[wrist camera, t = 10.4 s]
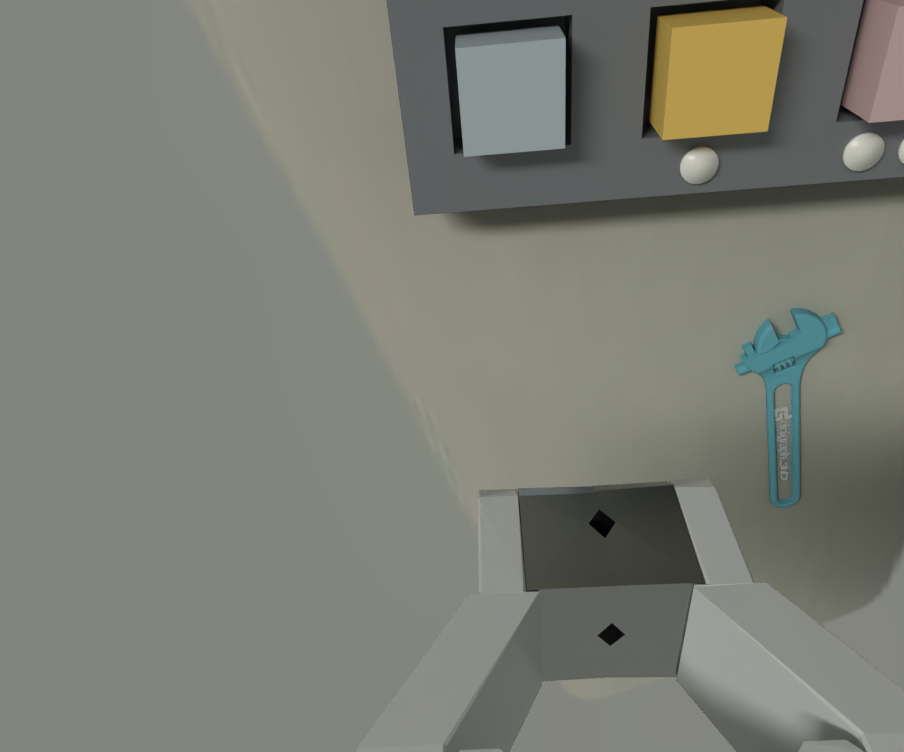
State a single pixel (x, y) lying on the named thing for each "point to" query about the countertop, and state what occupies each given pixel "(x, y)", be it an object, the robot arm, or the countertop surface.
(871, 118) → the button two
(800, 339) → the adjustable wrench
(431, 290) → the countertop surface
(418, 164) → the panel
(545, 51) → the button none
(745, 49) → the button one
